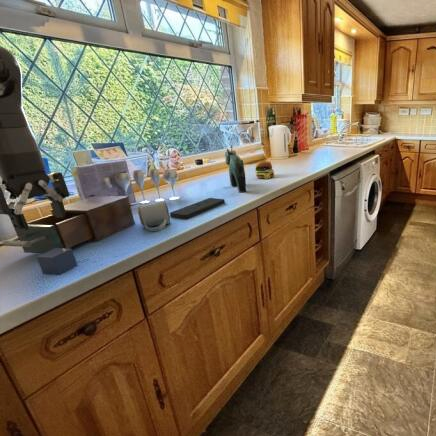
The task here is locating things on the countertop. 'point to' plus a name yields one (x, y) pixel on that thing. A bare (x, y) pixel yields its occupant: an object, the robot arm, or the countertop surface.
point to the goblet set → (138, 176)
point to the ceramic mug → (154, 215)
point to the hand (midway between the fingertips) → (43, 223)
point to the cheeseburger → (264, 170)
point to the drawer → (53, 233)
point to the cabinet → (104, 214)
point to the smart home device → (197, 208)
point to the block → (57, 261)
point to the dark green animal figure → (236, 170)
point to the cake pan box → (100, 180)
